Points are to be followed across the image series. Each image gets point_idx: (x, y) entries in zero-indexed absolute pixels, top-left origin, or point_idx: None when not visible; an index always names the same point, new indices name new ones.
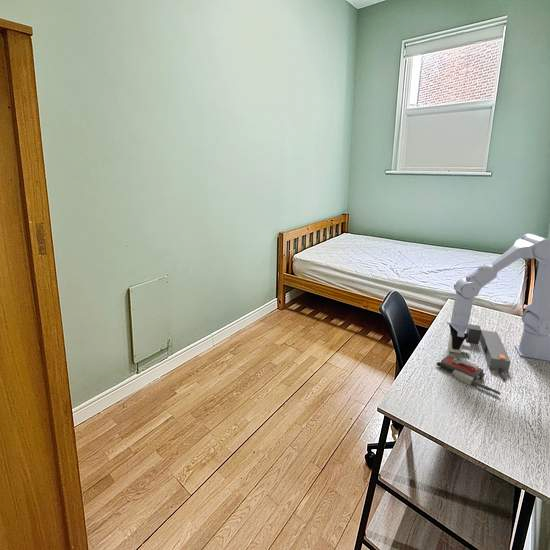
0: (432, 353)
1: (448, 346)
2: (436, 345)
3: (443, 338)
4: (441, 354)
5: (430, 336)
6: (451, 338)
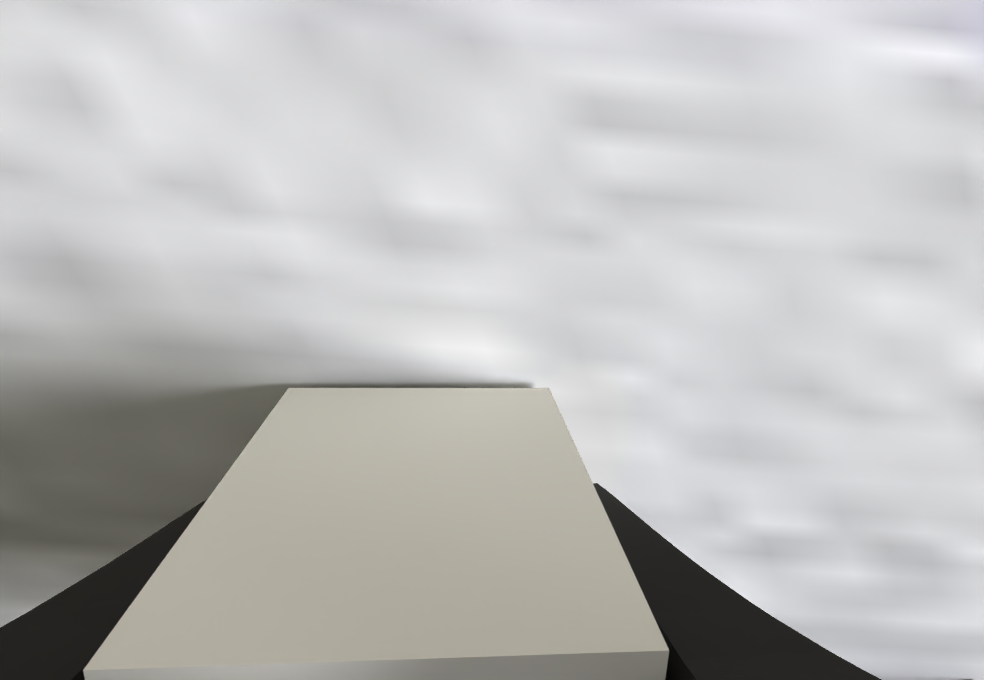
0: (19, 9)
1: (446, 401)
2: (500, 147)
3: (884, 326)
4: (89, 227)
5: (938, 35)
6: (129, 624)
